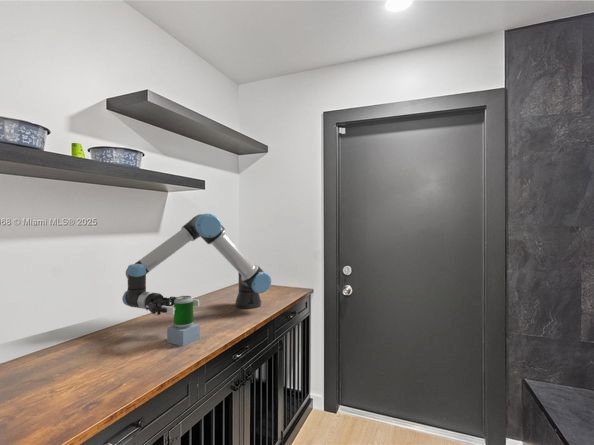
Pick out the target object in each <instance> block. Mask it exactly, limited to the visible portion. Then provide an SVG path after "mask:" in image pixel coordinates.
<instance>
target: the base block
mask: <svg viewBox="0 0 594 445" xmlns="http://www.w3.org/2000/svg"><path fill="white" fill-rule="evenodd" d="M166 328H167V330H166V332H167V333H166V334H167V338H166V339H167V341H166V342H167V343H169V344H172V345H175V346H176V345H177V346H181V347H184V346H187V345H189V344H191V343H194V342H196V341H199V340H200V339H201V337H200V336H201V333H200V332H201V331H200V330H201V324H198V323H194V322H193V324H192V325H191V326H190V327H188V328H177V327H176V326H175V325H174V324H173V325H171V326H168V327H166Z"/></svg>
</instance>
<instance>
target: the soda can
mask: <svg viewBox="0 0 594 445" xmlns="http://www.w3.org/2000/svg"><path fill="white" fill-rule="evenodd" d="M176 297H177V298H176V299H175V300H174V305H173V307H174V315H173V326H174V325H175V326H176V327H177V328H188V327H190V326H191V325H192V324H193V323H194V306H193V299H194V298H193V297H192V295H180V296H176Z"/></svg>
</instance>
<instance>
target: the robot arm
mask: <svg viewBox="0 0 594 445" xmlns="http://www.w3.org/2000/svg"><path fill="white" fill-rule="evenodd" d="M199 238H201V239H202V240H203V241H204V242H205V243H206V244H207V245H212V246H213V247H214V248H215V249H216V250H217V251H218V252H219V253H220V254H221V255H222V256H223V257H224V259H225V260H226V261H227V262H228V263H229V264H230V265H231V266H232V267H233V268H234V269H235V270H236V271H237V272H238V293H237V296H236V301H235V307H236V308H238V309H243V310H244V309H248V310H249V309H256V308H259V307H261V306H262V300H261V295H260V294H264V293H266V292H268V290H269V289H270V288H271V285H272V278H271V275H270V274H269V273H268V272H266V271H264V270H263V269H262V268H261V267H260V266H259V264H256V263H255V264H254V263H253V262H252V261H251V260H250V259H249V258H248V257H247V256H246V254H244V252H243V251H241V249H240V248H239V247H238V246H237V244H235V242H234V241H232V239H231V238H230V236H228V235H227V234H226V228H225V227H224V225H223V224H222V222H221V220H220V219H219V218H218V217H217V216H216V215H215V214H212V213H203V214H202V213H201V214H200V213H199V214H197V215H195V216H194V217H192V218H191V219H190V220H189V221H188V222H186V223H185V224H184V225H183V226H181V229H180V230H179V231H178V232H176V233H175V234H173V235H172V236H170V238H168V239H167V240H165V241H164V242H162V243H161V244H160V245H158V246H157V247H155V248H154V249H152V250H151V251H150V252H148V253H147V254H145V255H144V256H143V257H142V258H141V259H138V261H136V262H135V263H133V264H129V265H128V266H127V268H126V271H125V276H126V278H127V279H126V280H127V290H126V291H125V292H124V293H123V295H122V299H121V300H122V302H123V304H124V305H125V306H128V307H131V308H137V309H141V310H142V309H143V310H145V311H149V312H150V313H151V314H153V315H155V314H156V315H157V316H159V315H161V314H167V315H172V316H174V300H175V299H176V298H177V297H178V296H170V297H164V295H162V294H161V293H159V292H158V293H157V292H152V291H151V292H150V291H147V284H146V283H147V274H148V273H150V272H151V271H152V270H153V269H155V268H157V267H158V266H159V265H161V263H163V262H165V261H166V260H167V259H168V258H169V257H171V256H172V255H174V254H175V253H176V252H178V251H179V250H180V249H182V248H183V247H185V245H187V244H189V243H190V242H194V241H196V239H199ZM193 307H197V308H198V307H200V299H196V298H193Z"/></svg>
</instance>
